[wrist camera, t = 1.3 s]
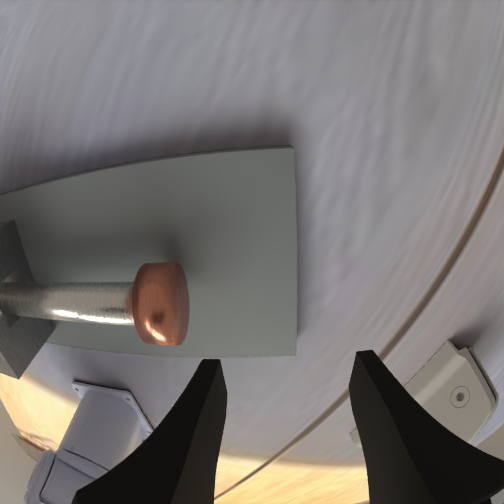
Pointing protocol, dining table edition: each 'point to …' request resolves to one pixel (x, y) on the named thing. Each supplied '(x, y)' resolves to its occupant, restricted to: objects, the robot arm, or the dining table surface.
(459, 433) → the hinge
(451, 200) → the dining table surface
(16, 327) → the bearing block
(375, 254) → the dining table surface
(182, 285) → the shaft
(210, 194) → the base plate
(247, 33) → the dining table surface
